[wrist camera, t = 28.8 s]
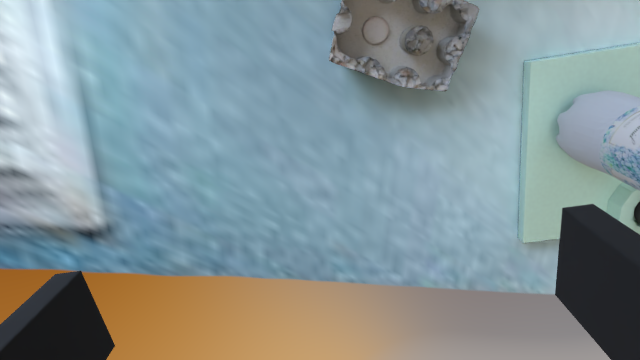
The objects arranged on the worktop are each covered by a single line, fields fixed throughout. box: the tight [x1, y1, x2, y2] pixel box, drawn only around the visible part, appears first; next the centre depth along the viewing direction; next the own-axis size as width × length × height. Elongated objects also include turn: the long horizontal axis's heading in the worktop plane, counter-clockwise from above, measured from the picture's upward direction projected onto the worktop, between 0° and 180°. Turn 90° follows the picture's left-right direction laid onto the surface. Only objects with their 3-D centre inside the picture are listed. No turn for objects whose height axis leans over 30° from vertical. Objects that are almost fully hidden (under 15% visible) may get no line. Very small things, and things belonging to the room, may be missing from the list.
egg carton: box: [329, 0, 479, 91], centre depth 31 cm, size 11×8×4 cm
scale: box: [518, 43, 640, 243], centre depth 35 cm, size 18×14×3 cm
